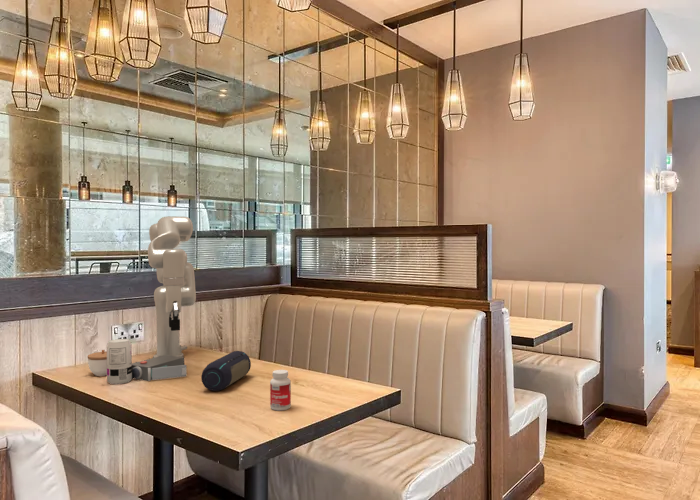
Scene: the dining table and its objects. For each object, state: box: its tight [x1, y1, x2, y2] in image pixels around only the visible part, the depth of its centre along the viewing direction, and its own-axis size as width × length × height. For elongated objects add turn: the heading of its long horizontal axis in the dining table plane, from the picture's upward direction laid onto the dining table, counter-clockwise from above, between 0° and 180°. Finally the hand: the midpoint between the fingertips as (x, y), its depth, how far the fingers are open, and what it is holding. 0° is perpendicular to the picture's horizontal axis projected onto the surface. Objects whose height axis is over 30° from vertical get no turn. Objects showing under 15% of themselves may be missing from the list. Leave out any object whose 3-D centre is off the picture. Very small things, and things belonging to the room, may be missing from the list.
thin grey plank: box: [151, 364, 188, 381], centre depth 190 cm, size 12×1×4 cm, turn 114°
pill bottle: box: [269, 369, 292, 411], centre depth 156 cm, size 6×6×11 cm
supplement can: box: [106, 338, 133, 385], centre depth 187 cm, size 8×8×15 cm
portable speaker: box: [200, 350, 252, 392], centre depth 183 cm, size 25×10×10 cm, turn 169°
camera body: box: [131, 355, 185, 382], centre depth 197 cm, size 19×12×6 cm, turn 154°
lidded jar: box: [87, 349, 107, 377], centre depth 198 cm, size 11×11×9 cm
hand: (174, 328), depth 194 cm, fingers open, 8 cm apart
